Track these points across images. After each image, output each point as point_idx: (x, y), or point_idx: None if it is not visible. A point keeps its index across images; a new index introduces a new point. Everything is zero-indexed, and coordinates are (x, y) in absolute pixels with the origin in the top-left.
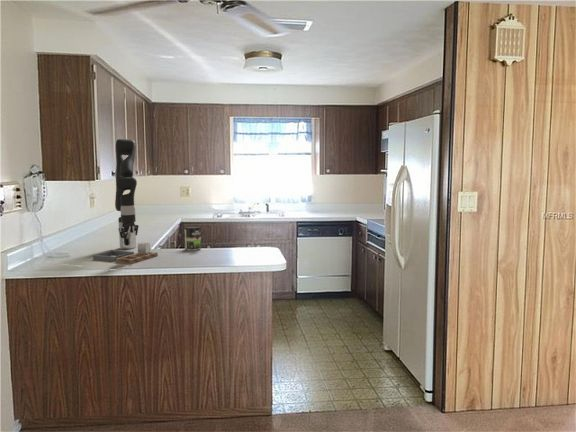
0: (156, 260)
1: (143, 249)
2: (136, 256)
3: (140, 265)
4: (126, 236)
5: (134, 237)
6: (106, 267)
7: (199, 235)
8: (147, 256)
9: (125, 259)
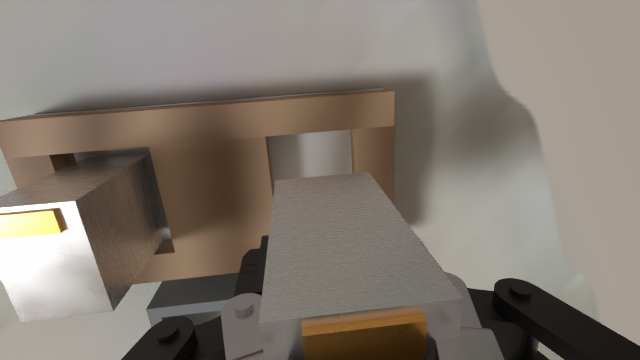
0: (126, 34)
1: (122, 204)
2: (254, 171)
3: (350, 23)
4: (469, 308)
5: (300, 245)
6: (483, 211)
7: None
8: (169, 107)
9: (392, 164)
